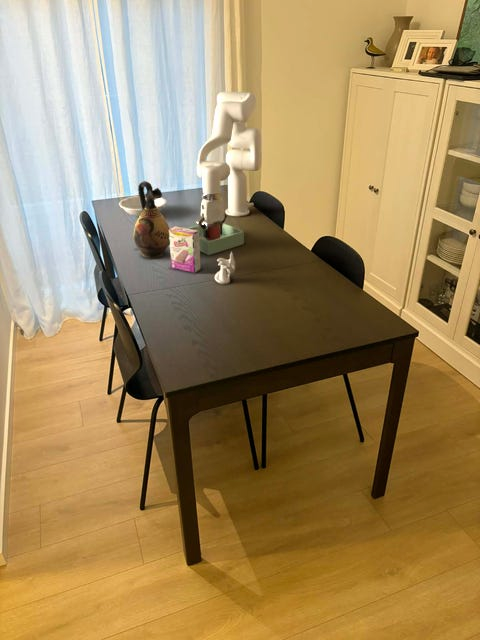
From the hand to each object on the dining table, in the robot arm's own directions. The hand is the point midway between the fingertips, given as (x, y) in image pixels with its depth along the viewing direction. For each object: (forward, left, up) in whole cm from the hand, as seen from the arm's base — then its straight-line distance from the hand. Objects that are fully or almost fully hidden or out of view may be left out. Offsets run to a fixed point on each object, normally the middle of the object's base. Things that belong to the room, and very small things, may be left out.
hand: (212, 235), depth 218 cm
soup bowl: (+4, -53, -4) cm, 53 cm away
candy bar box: (+25, +15, -4) cm, 29 cm away
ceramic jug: (+27, -7, -4) cm, 28 cm away
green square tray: (0, 0, -4) cm, 4 cm away
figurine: (+20, +35, -4) cm, 40 cm away
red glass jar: (0, 0, -3) cm, 3 cm away
